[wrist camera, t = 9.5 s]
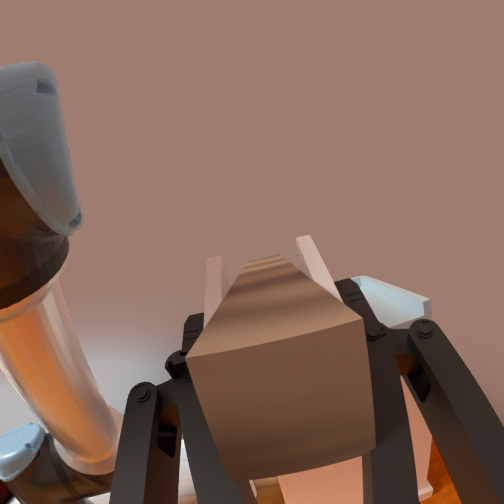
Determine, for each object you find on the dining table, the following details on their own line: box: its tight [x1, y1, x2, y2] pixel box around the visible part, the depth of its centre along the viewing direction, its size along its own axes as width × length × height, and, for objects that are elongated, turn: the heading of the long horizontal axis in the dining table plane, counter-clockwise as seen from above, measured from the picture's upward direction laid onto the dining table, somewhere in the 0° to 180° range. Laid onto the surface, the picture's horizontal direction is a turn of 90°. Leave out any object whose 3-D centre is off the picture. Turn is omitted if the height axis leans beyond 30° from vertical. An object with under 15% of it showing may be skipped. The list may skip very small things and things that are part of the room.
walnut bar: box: [185, 255, 376, 481], centre depth 22 cm, size 32×4×4 cm, turn 178°
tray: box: [351, 275, 433, 329], centre depth 39 cm, size 23×12×2 cm, turn 178°
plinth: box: [277, 376, 433, 504], centre depth 39 cm, size 24×22×30 cm
